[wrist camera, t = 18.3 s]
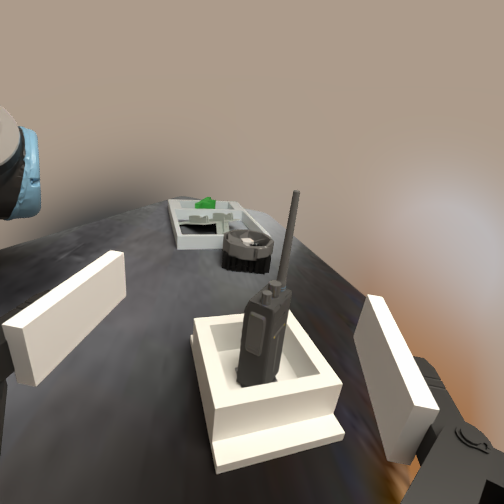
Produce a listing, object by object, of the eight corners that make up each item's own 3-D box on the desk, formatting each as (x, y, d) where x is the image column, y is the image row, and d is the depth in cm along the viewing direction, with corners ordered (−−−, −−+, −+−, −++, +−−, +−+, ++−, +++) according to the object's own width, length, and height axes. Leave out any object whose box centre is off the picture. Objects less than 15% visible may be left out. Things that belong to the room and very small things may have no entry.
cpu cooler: (225, 226, 64) (272, 231, 64) (223, 250, 66) (269, 255, 66) (220, 244, 54) (275, 250, 54) (218, 272, 56) (271, 277, 57)
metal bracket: (248, 211, 76) (196, 217, 67) (249, 233, 77) (199, 242, 68) (216, 211, 87) (169, 216, 78) (218, 231, 88) (171, 238, 79)
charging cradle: (190, 341, 38) (191, 308, 36) (277, 331, 42) (282, 300, 40) (216, 474, 24) (220, 432, 22) (342, 440, 28) (355, 401, 26)
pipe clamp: (206, 220, 83) (206, 205, 81) (194, 218, 83) (194, 203, 82) (217, 211, 92) (218, 198, 91) (207, 210, 93) (207, 196, 91)
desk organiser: (168, 209, 89) (168, 199, 88) (235, 210, 96) (236, 201, 94) (177, 249, 63) (177, 236, 62) (269, 247, 70) (271, 235, 69)
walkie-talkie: (254, 356, 35) (279, 185, 27) (280, 369, 34) (314, 192, 26) (231, 383, 31) (254, 192, 23) (260, 398, 30) (294, 201, 22)
